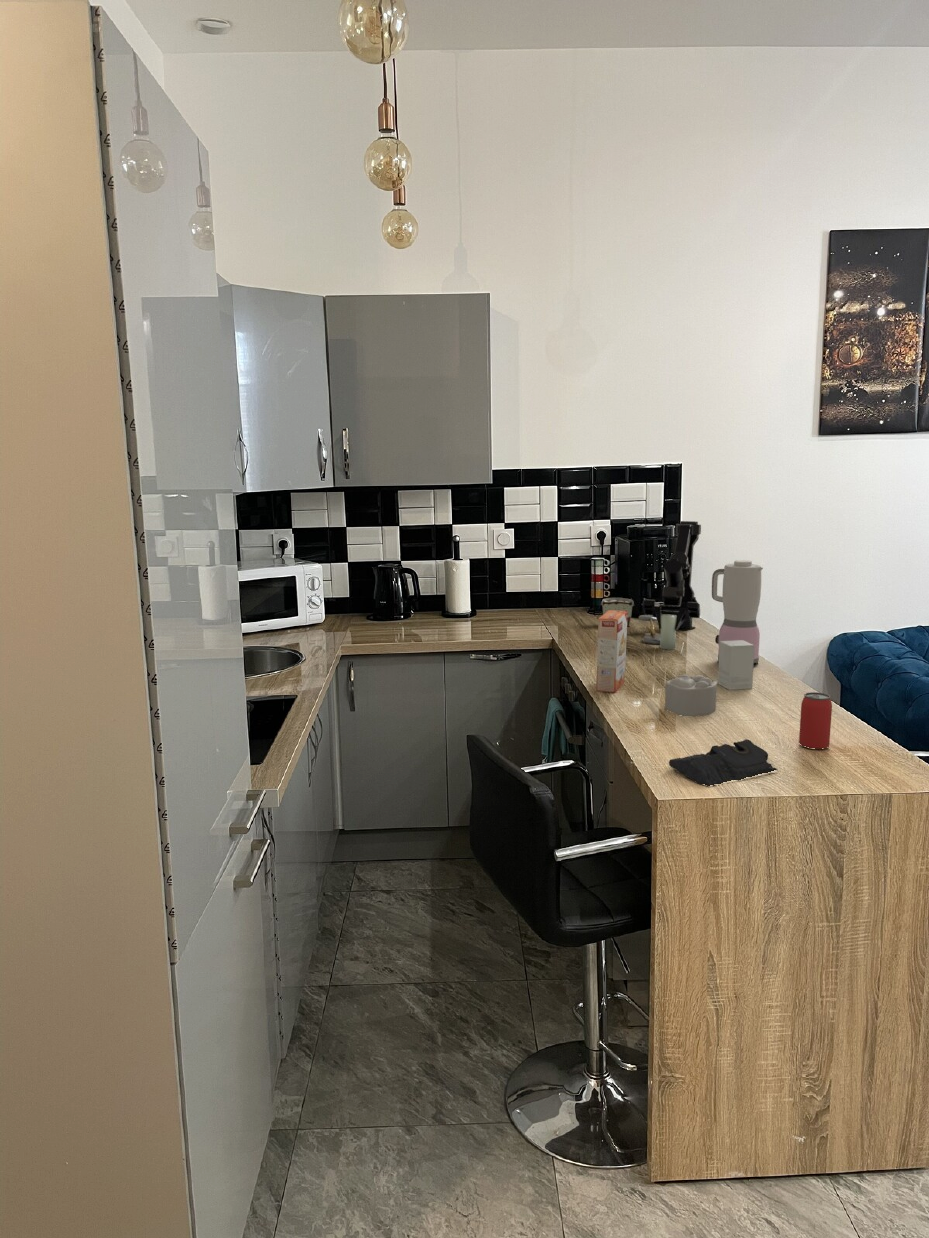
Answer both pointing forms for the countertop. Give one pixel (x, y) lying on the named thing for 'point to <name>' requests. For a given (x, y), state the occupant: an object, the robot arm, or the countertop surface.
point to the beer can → (815, 720)
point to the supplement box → (736, 664)
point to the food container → (618, 606)
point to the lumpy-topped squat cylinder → (691, 695)
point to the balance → (651, 637)
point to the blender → (739, 603)
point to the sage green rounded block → (668, 631)
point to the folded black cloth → (724, 763)
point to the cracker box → (611, 651)
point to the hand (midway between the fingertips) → (667, 629)
